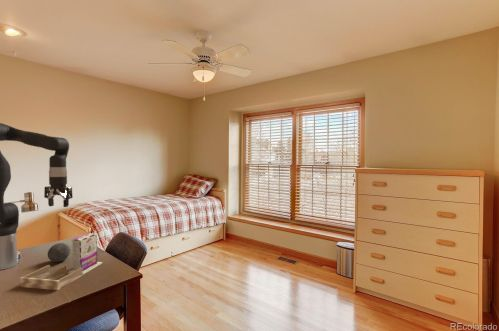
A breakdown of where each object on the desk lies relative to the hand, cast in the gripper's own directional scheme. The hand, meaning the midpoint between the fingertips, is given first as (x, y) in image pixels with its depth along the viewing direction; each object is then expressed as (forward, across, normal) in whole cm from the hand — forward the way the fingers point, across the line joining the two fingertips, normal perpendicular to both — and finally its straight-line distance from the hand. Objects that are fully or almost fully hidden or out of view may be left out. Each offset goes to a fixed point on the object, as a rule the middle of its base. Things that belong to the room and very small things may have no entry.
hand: (58, 206), depth 135 cm
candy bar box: (+32, +14, +1) cm, 35 cm away
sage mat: (+32, +14, +1) cm, 35 cm away
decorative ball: (+32, -6, +6) cm, 33 cm away
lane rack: (+32, +10, -14) cm, 36 cm away
